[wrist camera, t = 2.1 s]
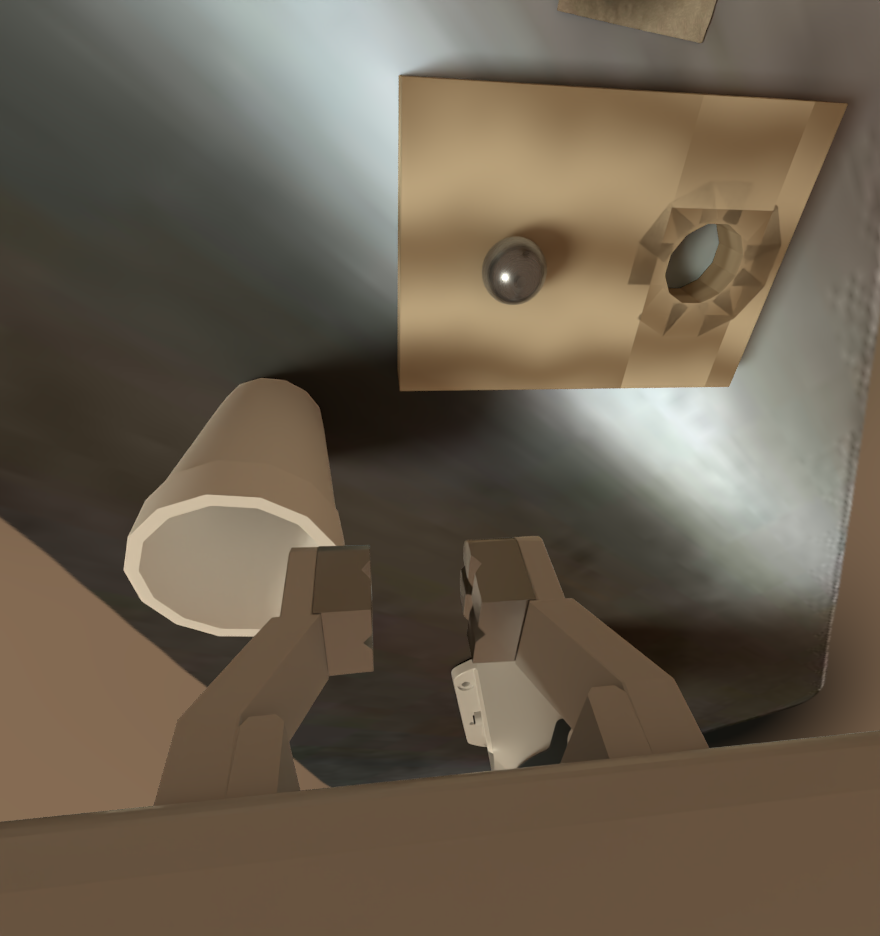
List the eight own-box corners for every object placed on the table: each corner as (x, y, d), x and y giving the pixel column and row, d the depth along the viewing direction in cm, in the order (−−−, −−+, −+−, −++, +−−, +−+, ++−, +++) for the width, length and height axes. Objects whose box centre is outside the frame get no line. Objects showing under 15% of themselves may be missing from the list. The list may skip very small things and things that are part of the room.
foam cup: (200, 472, 36) (138, 635, 26) (188, 346, 31) (104, 488, 21) (342, 482, 38) (336, 637, 28) (353, 364, 33) (351, 502, 23)
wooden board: (708, 368, 36) (729, 386, 34) (397, 371, 34) (399, 390, 32) (812, 100, 27) (848, 103, 25) (398, 75, 25) (402, 76, 23)
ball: (532, 292, 29) (548, 314, 27) (474, 292, 29) (485, 314, 26) (541, 229, 27) (560, 247, 25) (479, 228, 27) (492, 245, 24)
